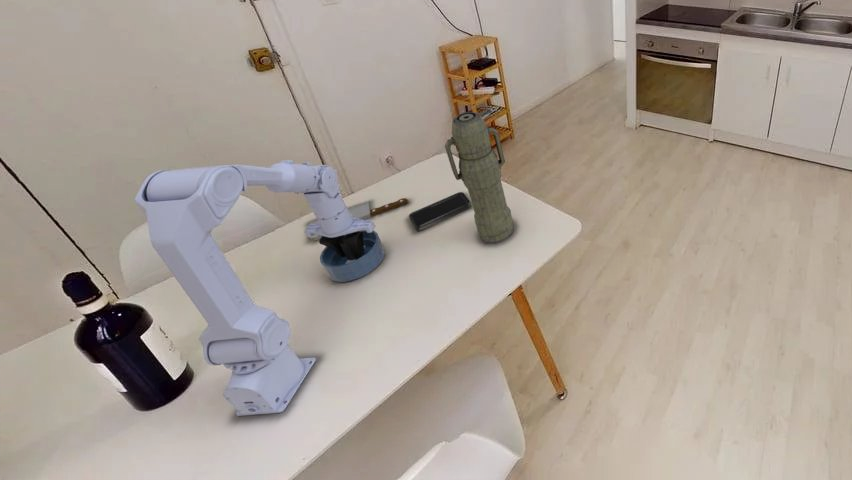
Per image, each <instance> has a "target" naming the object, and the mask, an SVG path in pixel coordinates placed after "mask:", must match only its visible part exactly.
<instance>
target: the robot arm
mask: <svg viewBox="0 0 852 480" xmlns="http://www.w3.org/2000/svg"><path fill="white" fill-rule="evenodd" d="M338 174H339V173H338V170H337V169H335V168H333V167H332V166H330V165H329V164H320V165H319V164H317V165H312V163H311V162H301V163H294V160H293V159H283V160H281V161H280V162H276V163H274V164H271V166H269V167H265V166H255V165H248V164H239V163H237V164H236V163H235V164H224V165H223V164H222V165H210V166H198V167H197V166H196V167H187V168H180V169H160V170H157V171H154V172H152V173H150V174H149V175H148V176H147V177H146V178H145V179H144V181H143V182H142V183H141V185H140V188H139V189H138V192H137V194H136V196H135V198H134V202H135V204H136V205H137V206H138V208H139V209H140V211H141V212H142V214H143V215H144V216H145V218H146V220H147V226H148V233H149V238H150V243H151V246H152V248H153V249H154V250H155V252H156V254H157V255H158V256H159V257H160V259H161V260H162V262H163V263H164V264H165V266H166V267H167V269H168V270H169V271H170V273H171V274H172V276H173V277H174V278H175V280H176V281H177V283H178V284H179V285H180V287H181V288H182V290H183V291H184V293H185V294H186V295H187V297H188V298H189V299H190V301H191V302H192V304H193V305H194V306H195V308H196V310H197V311H198V312H199V313H200V315H201V316H202V317H203V319H204V321H206V323H207V325H206V327H205V328H204V330H203V331H202V333H201V334H200V336H199V337H198V341H199V343H200V344H201V345H202V350H203V359H204V361H205V362H206V364H207V365H209V366H221V365H223V366H224V367H225V368H226V369H230V370H231V376H230V380H229V381H228V383H227V385H226V387H225V389H224V390H223V393H222V396H223V398H224V399H225V400H226V401H227V402H228V403H229V404H230V405H231V406H232V407H233V408H234V409H235V410H236V413H235V415H236V416H238V417H241V416H252V415H253V416H255V415H266V414H267V415H268V414H278V413H279V414H280V413H283V412H284V411H285V410H286V408H287V407H288V405H289V403H290V402H291V400H292V399H293V397H294V396H295V394H296V392H297V391H298V390H299V388H300V386H301V385H302V383H303V382H304V380H305V378H306V376H308V373H309V372H310V370H311V369H312V367H313V366H314V364H315V363H316V361H317V358H316V357H301V358H299V357H298V355H297V354H296V352H295V351H294V350H293V349H292V347H291V345H289V342H290V338H291V326H290V323H289V322H288V321H287V320H286V319H285V318H282V317H279V316H278V315H277V312H276V311H274V310H271V309H269V308H266V307H263V306H260V305H257V304H255V302H254V301H253V299H252V298H251V296H250V294H249V292H247V290H246V288H245V287H244V285H243V283H242V282H241V281H240V278H239V277H238V275H237V274H236V272H235V271H234V269H233V267H232V266H231V264H230V262H229V261H228V259H227V257H226V256H225V254H224V253H223V251H222V249H221V248H220V246H219V245H218V243H217V242H216V240H215V238H214V236H213V234H212V231H213V230H214V229H215V228H217V227H219V226H220V225H222V223H223V221H224V220H225V218H226V217H227V216H228V214H229V213H230V212H231V210H232V208H233V207H234V206H235V204H236V203H237V201H238V200H239V198H240V196H241V195H242V192H246V191H247V190H248V187H249V186H251V187H252V186H259V187H260V186H265V188H266V189H267V190H268V191H269V192H272V193H293V194H296V195H299V194H302V195H303V197H304V198H305V200H306V202H307V204H308V205H309V208H310V209H311V211H312V213H313V215H314V216H315V218H316V220H318V222H319V223H317V224H310V225H309V224H308V225H307V226H306V227H305V228H304V230H303V232H304V233H305V235H306V237H309V236H313V234H317V235H321V237H322V238H320V239H318V240H319V241H318V243H319V245H322V246H325V247H326V246H327V247H329V248H331V249H332V250H334V251H335V252H336V253H337V254H339V255H340V256H341V257H345V256H346V255H345V254H344V252H343V250H342V248H341V246H340V244H339V241H340V240H341V239H342V238H343V237H344V235H345V234H348V235H346V237H345V238H344V239H343V240H342V241H343V242H344V243H346V244H347V245H349V246H350V248H351V249H352V250H353V252H354V254H355V255H356V256H361V254H362V253H363V252H364V244H363V237H364V231H367V233H371V232H372V231H373V230H374V231H375V228H376V225H375V222H374V220H366V219H363V220H362V219H357V218H353V215H352V214H350V213H349V211H348V207H347V205H346V202H345V201H344V198H343V197H342V195H341V193H340V191H341V189H340V187H341V185H340V183H339V175H338Z"/></svg>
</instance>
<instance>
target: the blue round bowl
mask: <svg viewBox="0 0 852 480" xmlns="http://www.w3.org/2000/svg"><path fill="white" fill-rule="evenodd" d="M346 235H348V234H345V235H344V237H345V236H346ZM363 244H364V246H366V247H365V248H364V253H365V255H363V256H362V257H360V258H359V259H357V260H354V261H352V262H350V263H347V264H345V263H346V260H347V257H346V256H345V257H341V256H340V255H339V254H337V253H336V252H335V251H334V250H332V249H331V248H329V247H327V246H325V247H324V248H323V250H322V251H321V253H320V255H319V262H320V265H321V266H322V268H323V269H324V271H325V274H327V276H328V278H330V279H331V281H334V282H339V283H344V282H350V281H354V280H357V279H360V278H361V277H364V276H366V275H368V274H369V273H370V272H372V271H373V270H375V269H376V268H377V267H378V266H379V265H380V264H381V263H382V261H383V259H384V258H385V254H386V249H385V247H384V244H383V242H382V240H381V238H380V236H379V233H378V232H377V231H375V229H374V230H373V231H372V232H371V233H367V231H364V237H363Z"/></svg>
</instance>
